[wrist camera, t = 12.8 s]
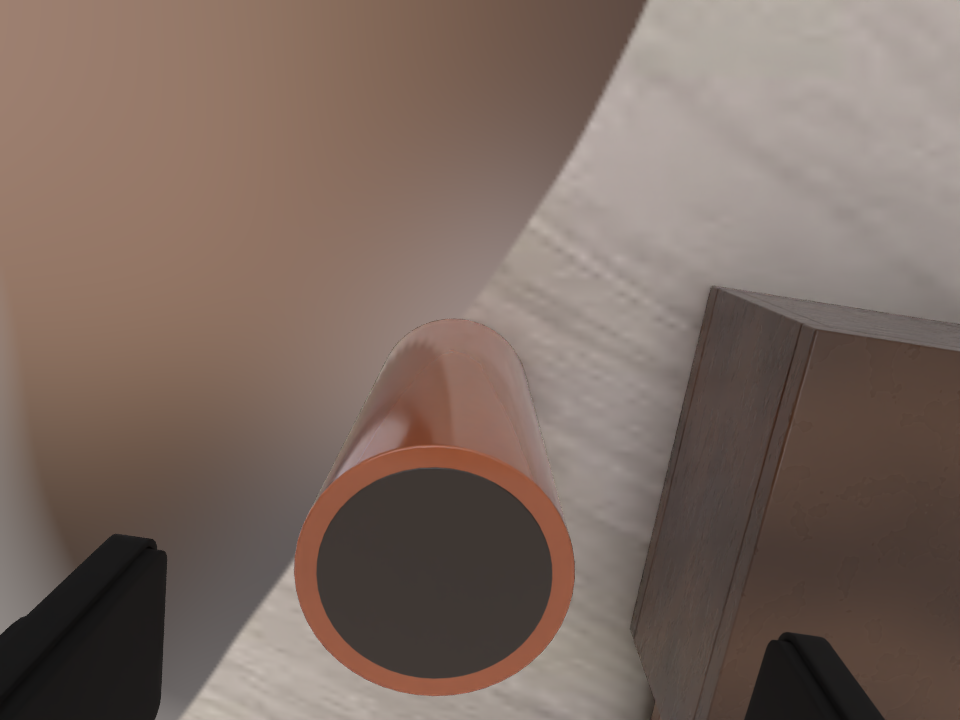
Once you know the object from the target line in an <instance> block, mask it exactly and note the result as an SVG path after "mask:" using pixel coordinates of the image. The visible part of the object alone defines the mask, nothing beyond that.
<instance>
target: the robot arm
mask: <svg viewBox="0 0 960 720" xmlns="http://www.w3.org/2000/svg"><path fill="white" fill-rule="evenodd" d="M166 570H167V555H166V552H165V551H162V550H157V545H156V542H155V541H154V540H153V539H149V538H142V537H135V536H128V535H121V534H114V535H112V536H111V537H109V538H108V539H107V540H106V541H105V542H104V543H103V544H102V545H101V546H100V547H99V548H98V549H96V550H95V551H94V552H93V553H92V554H91V555H90V556H89V557H88V558H87V559H86V560H85V561H84V562H83V563H82V564H81V565H80V566H78V567H77V569H75V570H74V571H73V572H72V573H71V574H70V575H69V576H68V577H67V578H66V579H65V580H64V581H63V582H62V583H61V584H59V585H58V586H57V587H56V588H55V589H54V590H53V591H52V592H51V593H50V594H49V595H48V596H47V597H46V598H45V599H44V600H43V601H42V602H41V603H40V604H38V605H37V606H36V607H35V608H34V609H33V610H32V611H31V612H30V613H29V614H28V615H27V616H25V617H22V618H20V619H19V620H17V621H16V622H14V623H13V624H12V625H11V626H9V628H7V629H6V630H5V631H4V632H3V633H2V634H1V635H0V720H155V718H156V715H157V712H158V709H159V705H160V699H161V684H162V660H163V638H164V617H165V615H164V614H165V594H166V572H167V571H166ZM744 720H885V719H884V717H883V716H882V715H881V713H880V712H879V711H878V709H877V708H876V706H875V705H874V704H873V702H872V701H871V700H870V698H869V697H868V695H867V694H866V693H865V691H864V690H863V689H862V687H861V686H860V685H859V683H858V682H857V680H856V679H855V678H854V676H853V675H852V674H851V672H850V671H849V669H848V668H847V667H846V665H845V664H844V663H843V661H842V660H841V658H840V657H839V656H838V654H837V653H836V652H835V650H834V649H833V647H832V646H831V645H830V643H829V642H828V641H827V640H826V639H825V638H823V637H819V636H812V635H806V634H799V633H792V632H784V633H782V634H781V635H780V637H779V638H778V640H771V641H770V642H769V643H768V645H767V647H766V650H765V654H764V657H763V660H762V663H761V667H760V670H759V673H758V676H757V680H756V683H755V686H754V690H753V693H752V696H751V699H750V703H749V706H748V709H747V712H746V716H745V719H744Z"/></svg>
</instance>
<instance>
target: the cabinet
mask: <svg viewBox="0 0 960 720" xmlns="http://www.w3.org/2000/svg"><path fill="white" fill-rule="evenodd" d="M630 630H631V633H632V636H633V639H634V643H635V645H636V648H637V651H638V654H639V657H640V660H641V662H642V665H643V668H644V671H645V674H646V677H647V680H648V682H649V685H650V688H651V691H652V694H653V697H654V699H655V702H656V705H657V708H658V711H659V714H660V716H661V719H662V720H744V719H745V716H746V712H747V709H748V706H749V703H750V699H751V696H752V693H753V690H754V686H755V683H756V680H757V676H758V673H759V670H760V667H761V663H762V660H763V657H764V654H765V650H766V647H767V645H768V643H769V642H770V641H771V640H778V638H779V637H780V635H781V634H782V633H784V632H792V633H799V634H806V635H812V636H819V637H823V638H825V639H826V640H827V641H828V642H829V643H830V645H831V646H832V647H833V649H834V650H835V652H836V653H837V654H838V656H839V657H840V658H841V660H842V661H843V663H844V664H845V665H846V667H847V668H848V669H849V671H850V672H851V674H852V675H853V676H854V678H855V679H856V680H857V682H858V683H859V685H860V686H861V687H862V689H863V690H864V691H865V693H866V694H867V695H868V697H869V698H870V700H871V701H872V702H873V704H874V705H875V706H876V708H877V709H878V711H879V712H880V713H881V715H882V716H883V717H884V719H885V720H960V324H954V323H947V322H941V321H935V320H928V319H922V318H916V317H909V316H903V315H896V314H890V313H884V312H877V311H871V310H865V309H858V308H852V307H846V306H839V305H833V304H826V303H820V302H814V301H807V300H801V299H795V298H788V297H782V296H775V295H769V294H763V293H756V292H750V291H744V290H737V289H731V288H725V287H718V286H712V287H711V290H710V295H709V299H708V303H707V307H706V311H705V316H704V320H703V324H702V328H701V332H700V337H699V341H698V345H697V349H696V353H695V358H694V362H693V366H692V370H691V375H690V379H689V383H688V387H687V391H686V396H685V400H684V404H683V408H682V412H681V417H680V421H679V425H678V429H677V433H676V438H675V442H674V446H673V450H672V454H671V459H670V463H669V467H668V471H667V475H666V480H665V484H664V488H663V492H662V496H661V501H660V505H659V509H658V513H657V517H656V522H655V526H654V530H653V534H652V539H651V543H650V547H649V551H648V555H647V560H646V564H645V568H644V572H643V576H642V581H641V585H640V589H639V593H638V597H637V602H636V606H635V610H634V614H633V618H632V623H631V627H630Z"/></svg>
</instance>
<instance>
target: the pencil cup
mask: <svg viewBox="0 0 960 720" xmlns="http://www.w3.org/2000/svg"><path fill="white" fill-rule="evenodd" d="M294 576H295V585H296V591H297V595H298V599H299V603H300V606H301V609H302V611H303V613H304V616H305V618H306V620H307V622H308V624H309V626H310V627H311V629H312V631H313V632H314V634H315V636H316V637H317V638H318V640H319V641H320V642H321V643H322V645H323V646H324V647H325V648H326V650H328V651H329V652H330V653H331V654H332V655H333V656H334V657H335V658H336V659H337V660H338V661H339V662H340V663H342V664H343V665H344V666H346V667H347V668H348V669H350V670H351V671H352V672H354V673H356V674H358V675H359V676H361V677H363V678H364V679H366V680H368V681H371V682H373V683H375V684H378V685H380V686H382V687H385V688H389V689H392V690H395V691H399V692H404V693H409V694H415V695H426V696H447V695H456V694H463V693H469V692H472V691H476V690H480V689H483V688H486V687H489V686H491V685H494V684H496V683H499V682H501V681H503V680H505V679H507V678H508V677H510V676H512V675H514V674H516V673H517V672H519V671H520V670H521V669H523V668H524V667H526V666H527V665H528V664H530V663H531V662H532V661H533V660H534V659H535V658H536V657H537V656H538V655H539V654H540V653H542V651H543V650H544V649H545V648H546V647H547V645H548V644H549V643H550V642H551V640H552V639H553V638H554V636H555V634H556V633H557V631H558V630H559V628H560V626H561V625H562V622H563V620H564V618H565V616H566V613H567V611H568V608H569V605H570V601H571V598H572V594H573V587H574V580H575V561H574V555H573V548H572V543H571V540H570V536H569V532H568V529H567V525H566V522H565V518H564V514H563V511H562V507H561V503H560V500H559V496H558V492H557V489H556V485H555V481H554V478H553V474H552V470H551V467H550V463H549V459H548V456H547V452H546V448H545V445H544V441H543V437H542V434H541V430H540V426H539V423H538V419H537V415H536V412H535V408H534V404H533V401H532V397H531V393H530V390H529V386H528V382H527V379H526V375H525V372H524V368H523V365H522V363H521V361H520V359H519V357H518V355H517V354H516V352H515V350H514V349H513V348H512V346H511V345H510V344H509V343H508V342H507V341H506V340H505V339H504V338H503V337H502V336H501V335H499V334H498V333H497V332H495V331H494V330H492V329H490V328H488V327H486V326H484V325H482V324H479V323H476V322H473V321H469V320H464V319H443V320H437V321H433V322H429V323H426V324H424V325H422V326H420V327H417V328H416V329H414V330H412V331H411V332H409V333H408V334H407V335H406V336H404V337H403V338H402V339H401V340H400V341H399V342H398V343H397V344H396V345H395V347H394V348H393V349H392V351H391V352H390V354H389V356H388V358H387V360H386V362H385V363H384V365H383V367H382V369H381V371H380V374H379V376H378V377H377V379H376V381H375V383H374V385H373V387H372V389H371V391H370V393H369V395H368V397H367V399H366V401H365V403H364V405H363V407H362V409H361V411H360V413H359V415H358V417H357V419H356V421H355V423H354V425H353V427H352V429H351V431H350V433H349V434H348V437H347V438H346V440H345V442H344V444H343V447H342V448H341V450H340V452H339V454H338V456H337V458H336V460H335V462H334V464H333V466H332V468H331V470H330V472H329V474H328V476H327V478H326V480H325V482H324V484H323V486H322V488H321V490H320V492H319V494H318V496H317V498H316V499H315V502H314V504H313V506H312V507H311V509H310V511H309V513H308V515H307V518H306V519H305V521H304V523H303V526H302V529H301V531H300V535H299V537H298V541H297V546H296V552H295V560H294Z"/></svg>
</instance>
